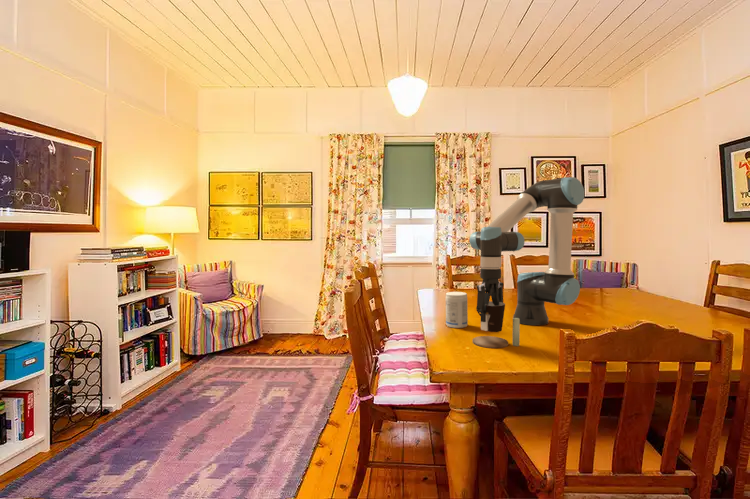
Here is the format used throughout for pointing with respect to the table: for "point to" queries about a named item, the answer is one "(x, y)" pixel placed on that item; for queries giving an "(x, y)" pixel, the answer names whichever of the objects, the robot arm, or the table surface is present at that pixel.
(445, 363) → the table surface
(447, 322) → the supplement tub
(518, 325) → the dowel
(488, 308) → the coffee mug
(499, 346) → the walnut base
